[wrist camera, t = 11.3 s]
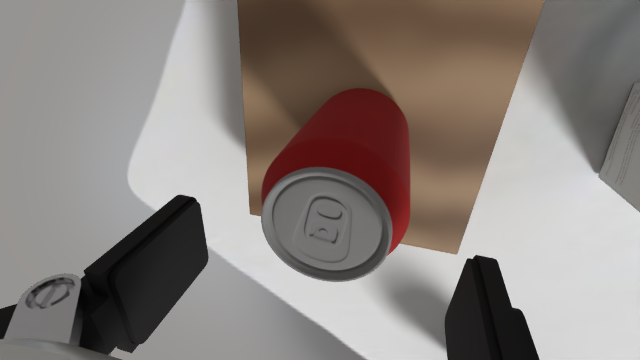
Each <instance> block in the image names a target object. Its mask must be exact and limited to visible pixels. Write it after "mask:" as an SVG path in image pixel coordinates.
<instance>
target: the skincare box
mask: <svg viewBox="0 0 640 360" xmlns="http://www.w3.org/2000/svg"><path fill="white" fill-rule="evenodd" d="M598 177H599V178H600V179H601V180H602V181H603V182H605V183H606V184H607V185H608V186H609V187H611V188H612V189H613V190H614V191H615V192H617V193H618V194H619V195H620V196H621V197H622V198H624V199H625V200H626V201H627V202H628V203H629V204H631V205H632V206H633V207H634V208H635V209H637V210H638V211H639V212H640V82H635V83H634V85H633V88H632V90H631V93H630V95H629V98H628V101H627V103H626V106H625V108H624V111H623V113H622V116H621V118H620V121H619V124H618V126H617V129H616V131H615V134H614V137H613V139H612V142H611V144H610V147H609V149H608V152H607V155H606V158H605V161H604V164H603V166H602V168H601V171H600V173H599V175H598Z"/></svg>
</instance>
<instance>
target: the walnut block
mask: <svg viewBox="0 0 640 360" xmlns="http://www.w3.org/2000/svg"><path fill="white" fill-rule="evenodd" d="M544 1H545V0H237V3H238V20H239V37H240V54H241V71H242V88H243V105H244V122H245V139H246V156H247V173H248V190H249V207H250V214H252V215H257V216H261V212H262V202H261V190H262V183H263V179H264V176H265V174H266V171H267V169H268V168H269V166H270V164H271V163H272V162H273V160H274V159H275V158H276V157H277V156H278V155H279V153H280V152H281V151H282V150H283V149H284V148H285V146H286V145H287V144H288V143H289V142H290V141H291V139H292V138H293V137H294V136H295V135H296V134H297V133H298V131H299V130H300V129H301V128H302V127H303V126H304V125H305V124H306V123H307V121H308V120H309V119H310V118H311V117H312V116H313V115H314V114H315V113H316V112H317V111H318V110H319V109H320V108H321V107H322V106H323V105H324V103H325V102H326V101H327V100H329V99H330V98H331V97H333V96H334V95H336V94H338V93H340V92H342V91H345V90H349V89H354V88H365V89H371V90H375V91H378V92H380V93H382V94H384V95H386V96H388V97H389V98H390V99H392V100H393V101H394V102H395V103H396V104H397V105H398V106H399V108H400V109H401V110H402V112H403V114H404V116H405V118H406V121H407V124H408V129H409V143H410V181H411V182H410V221H409V225H408V228H407V231H406V233H405V235H404V237H403V239H402V240H401V242H400V244H405V245H410V246H416V247H421V248H426V249H431V250H436V251H441V252H446V253H451V254H457V253H458V250H459V247H460V244H461V241H462V238H463V236H464V233H465V230H466V227H467V224H468V221H469V218H470V215H471V212H472V210H473V207H474V204H475V201H476V198H477V195H478V192H479V189H480V186H481V184H482V181H483V178H484V175H485V172H486V169H487V166H488V163H489V160H490V158H491V155H492V152H493V149H494V146H495V143H496V140H497V137H498V134H499V132H500V129H501V126H502V123H503V120H504V117H505V114H506V111H507V108H508V106H509V103H510V100H511V97H512V94H513V91H514V88H515V85H516V82H517V79H518V77H519V74H520V71H521V68H522V65H523V62H524V59H525V56H526V53H527V51H528V48H529V45H530V42H531V39H532V36H533V33H534V30H535V27H536V25H537V22H538V19H539V16H540V13H541V10H542V7H543V4H544Z"/></svg>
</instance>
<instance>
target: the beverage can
mask: <svg viewBox="0 0 640 360" xmlns="http://www.w3.org/2000/svg"><path fill="white" fill-rule="evenodd" d="M410 182H411V181H410V143H409V129H408V124H407V121H406V118H405V116H404V114H403V112H402V110H401V109H400V108H399V106H398V105H397V104H396V103H395V102H394V101H393V100H392V99H390V98H389V97H388V96H386V95H384V94H382V93H380V92H378V91H375V90H371V89H365V88H354V89H349V90H345V91H342V92H340V93H338V94H336V95H334V96H333V97H331V98H330V99H329V100H327V101H326V102H325V103H324V105H323V106H322V107H321V108H320V109H319V110H318V111H317V112H316V113H315V114H314V115H313V116H312V117H311V118H310V119H309V120H308V121H307V123H306V124H305V125H304V126H303V127H302V128H301V129H300V130H299V131H298V133H297V134H296V135H295V136H294V137H293V138H292V139H291V141H290V142H289V143H288V144H287V145H286V146H285V148H284V149H283V150H282V151H281V152H280V153H279V155H278V156H277V157H276V158H275V159H274V160H273V162H272V163H271V164H270V166H269V168H268V169H267V171H266V174H265V176H264V179H263V183H262V190H261V202H262V212H261V223H262V228H263V232H264V235H265V237H266V240H267V242H268V244H269V245H270V247H271V248H272V250H273V251H274V252H275V253H276V255H277V256H278V257H279V258H280V259H281V260H282V261H283V262H285V263H286V264H287V265H288V266H290V267H291V268H293V269H294V270H296V271H298V272H300V273H302V274H304V275H306V276H309V277H312V278H315V279H318V280H323V281H331V282H343V281H350V280H355V279H358V278H361V277H364V276H366V275H368V274H369V273H371V272H372V271H374V270H375V269H376V268H378V267H379V266H380V264H381V263H382V262H383V261H384V260H385V258H386V256H387V255H389V254H390V253H391V252H392V251H393V250H394V249H395V248H396V247H397V246H398V244H399V243H400V242H401V240H402V239H403V237H404V235H405V233H406V231H407V228H408V225H409V221H410Z"/></svg>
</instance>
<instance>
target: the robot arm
mask: <svg viewBox="0 0 640 360" xmlns="http://www.w3.org/2000/svg"><path fill="white" fill-rule="evenodd" d="M207 262H208V250H207V244H206V238H205V232H204V226H203V220H202V214H201V207H200V204H199V203H198V202H197V200H196V199H195V198H194V197H189V196H185V195H177V196H176V197H174V198H173V199H172V200H171V201H169V202H168V203H167V204H166V205H164V206H163V207H162V208H161V209H159V210H158V211H157V212H156V213H155V214H153V215H152V216H151V217H150V218H148V219H147V220H146V221H145V222H143V223H142V224H141V225H140V226H138V227H137V228H136V229H135V230H134V231H132V232H131V233H130V234H128V235H127V236H126V237H125V238H124V239H122V240H121V241H120V242H119V243H117V244H116V245H115V246H114V247H112V248H111V249H110V250H109V251H107V252H106V253H105V254H104V255H103V256H101V257H100V258H99V259H98V260H96V261H95V262H94V263H93V264H91V265H90V266H89V267H88V268H86V269H85V270H84V273H85V276H84V277H83V278H81V279H80V278H79V277H78V276H76V275H73V274H59V275H54V276H51V277H48V278H45V279H43V280H41V281H39V282H37V283H36V284H34V285H33V286H31V287H30V288H29V289H28V290H27V291H25V293H23V295H22V296H21V298H20V299H19V301H18V304H16V305H12V306H8V307H5V308H2V309H0V360H121V359H118V358H115V357H112V356H111V352H112V351H113V349H114V348H115V347H116V346H117V348H118V349H120V350H123V351H127V352H130V353H132V352H133V351H134V350H135V349H136V347H137V346H138V345H139V344H142V343H144V342H145V341H146V340H147V339H148V337H149V336H150V335H151V334H152V333H153V331H154V330H155V329H156V328H157V326H158V325H159V324H160V322H161V321H162V320H163V319H164V318H165V316H166V315H167V314H168V313H169V311H170V310H171V308H172V307H173V306H174V305H175V304H176V302H177V301H178V300H179V299H180V297H181V296H182V295H183V294H184V292H185V291H186V290H187V289H188V287H189V286H190V285H191V284H192V282H193V281H194V280H195V279H196V277H197V276H198V275H199V274H200V272H201V271H202V270H203V269H204V267H205V266H206V264H207ZM445 335H446V346H447V357H448V360H539V357H538V354H537V351H536V348H535V345H534V343H533V340H532V337H531V334H530V331H529V328H528V325H527V322H526V319H525V317H524V315H523V313H522V311H521V310H520V309H516V308H512V306H511V303H510V300H509V296H508V293H507V290H506V287H505V284H504V281H503V277H502V274H501V271H500V268H499V265H498V262H497V260H496V259H493V258H488V257H483V256H478V255H475V256H474V258H473V259H470V258H468V259H467V260H466V263H465V265H464V268H463V271H462V273H461V276H460V279H459V281H458V284H457V286H456V289H455V292H454V294H453V297H452V300H451V302H450V305H449V308H448V310H447V313H446V316H445Z"/></svg>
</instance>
